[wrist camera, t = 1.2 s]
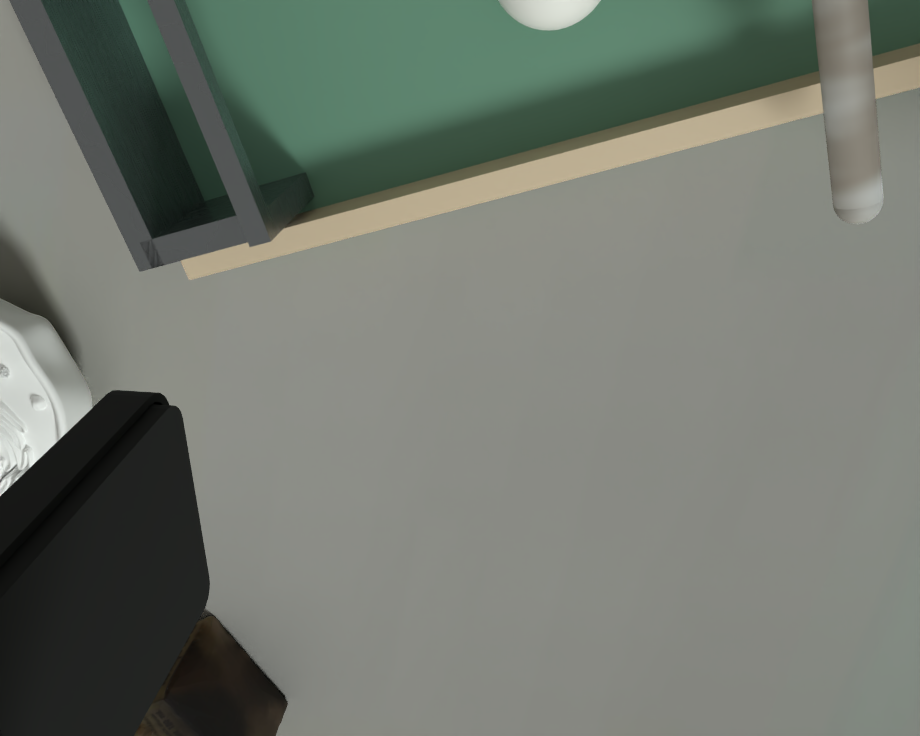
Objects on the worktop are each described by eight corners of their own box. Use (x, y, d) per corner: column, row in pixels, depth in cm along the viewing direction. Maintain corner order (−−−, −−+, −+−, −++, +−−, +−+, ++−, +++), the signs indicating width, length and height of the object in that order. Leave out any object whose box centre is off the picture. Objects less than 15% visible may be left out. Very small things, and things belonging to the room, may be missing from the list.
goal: (202, -107, 29) (125, -119, 24) (314, 196, 33) (271, 241, 28) (66, -56, 30) (-35, -57, 25) (193, 230, 34) (129, 279, 29)
